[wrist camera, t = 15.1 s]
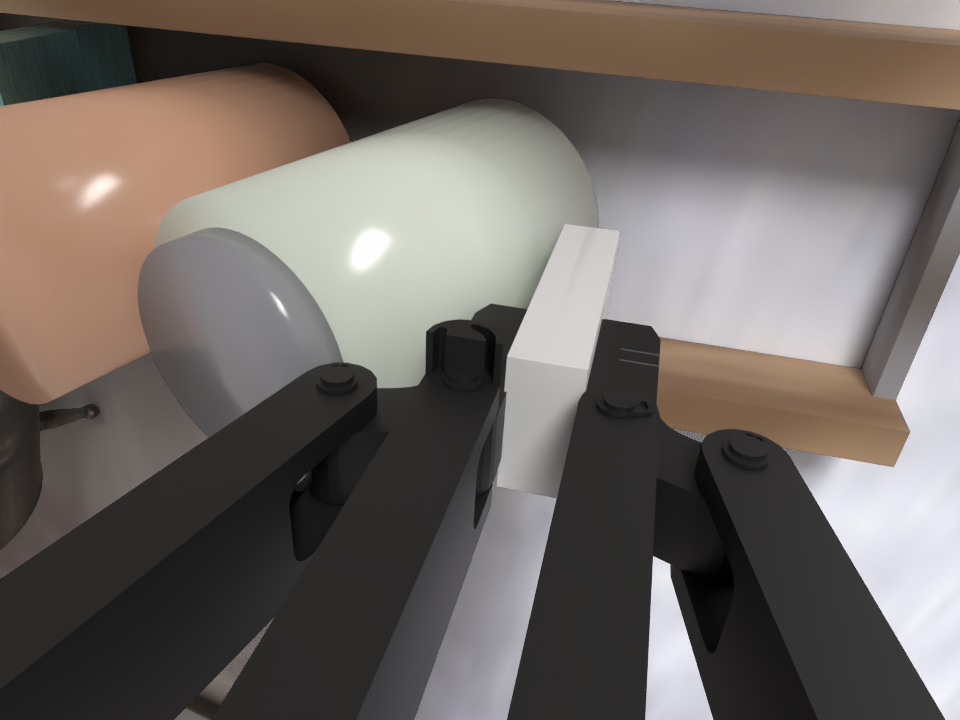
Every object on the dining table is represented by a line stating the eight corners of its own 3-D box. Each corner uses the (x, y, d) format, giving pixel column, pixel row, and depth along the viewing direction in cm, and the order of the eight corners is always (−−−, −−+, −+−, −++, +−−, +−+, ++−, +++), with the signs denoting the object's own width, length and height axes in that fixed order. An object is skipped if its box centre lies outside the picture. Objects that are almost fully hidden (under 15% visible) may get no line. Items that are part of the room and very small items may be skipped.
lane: (-61, -57, 21) (-159, -54, 19) (1022, 35, 17) (1083, 56, 14) (34, 268, 27) (-32, 304, 24) (868, 405, 22) (893, 467, 20)
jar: (418, 78, 20) (87, 169, 13) (616, 126, 18) (334, 269, 11) (415, 272, 24) (150, 425, 17) (581, 335, 21) (350, 548, 14)
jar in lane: (196, 49, 21) (-164, 99, 15) (359, 80, 19) (16, 157, 12) (222, 242, 24) (-64, 355, 18) (365, 289, 22) (95, 442, 15)
